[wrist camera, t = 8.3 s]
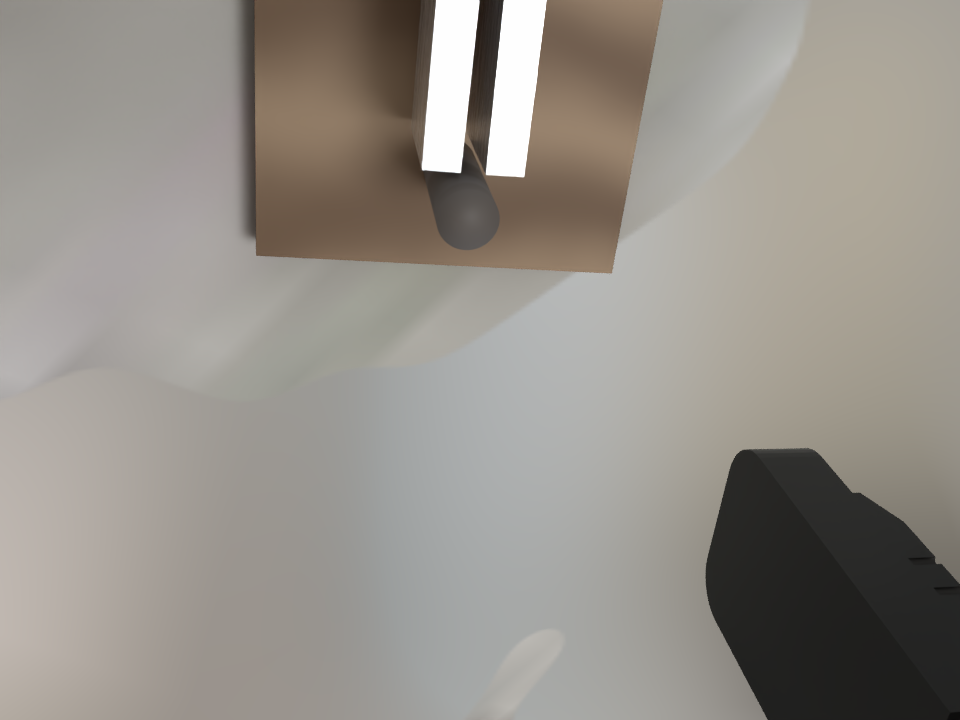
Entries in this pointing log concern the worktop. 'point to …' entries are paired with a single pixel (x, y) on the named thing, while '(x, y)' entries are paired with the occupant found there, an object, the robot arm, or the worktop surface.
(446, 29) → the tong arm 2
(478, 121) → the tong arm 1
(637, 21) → the tong rest
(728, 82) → the worktop surface
